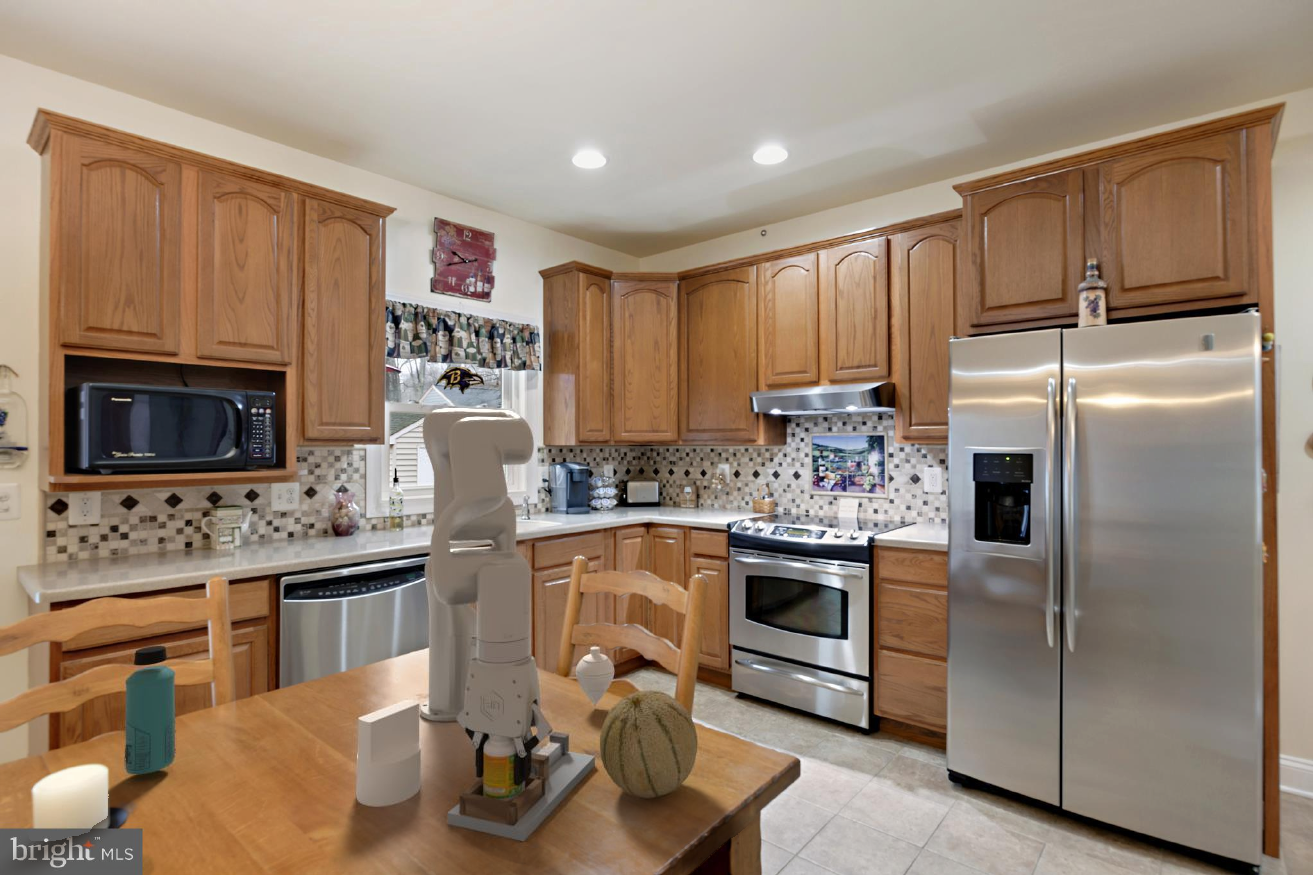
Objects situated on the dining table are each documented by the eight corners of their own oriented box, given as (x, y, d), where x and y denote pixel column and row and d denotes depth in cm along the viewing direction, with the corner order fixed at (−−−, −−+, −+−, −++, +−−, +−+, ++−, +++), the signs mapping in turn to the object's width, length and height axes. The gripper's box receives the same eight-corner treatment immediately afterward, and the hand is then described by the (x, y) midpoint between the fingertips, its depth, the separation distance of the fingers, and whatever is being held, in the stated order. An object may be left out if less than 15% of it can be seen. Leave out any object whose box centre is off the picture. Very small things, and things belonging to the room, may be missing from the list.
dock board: (530, 753, 111) (530, 724, 111) (594, 765, 107) (595, 734, 107) (447, 823, 90) (447, 787, 90) (523, 841, 86) (523, 803, 86)
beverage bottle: (185, 768, 106) (187, 643, 106) (141, 788, 99) (143, 655, 100) (157, 762, 108) (159, 639, 108) (112, 781, 101) (114, 651, 102)
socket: (494, 784, 98) (494, 767, 98) (545, 794, 95) (545, 776, 95) (459, 814, 90) (459, 795, 90) (513, 826, 87) (513, 807, 87)
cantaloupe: (711, 778, 102) (711, 682, 103) (675, 828, 89) (675, 716, 89) (626, 760, 108) (626, 669, 109) (581, 804, 95) (581, 699, 95)
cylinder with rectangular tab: (381, 813, 93) (382, 727, 93) (343, 795, 97) (344, 714, 98) (433, 785, 100) (433, 706, 101) (395, 770, 105) (396, 695, 105)
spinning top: (568, 712, 128) (568, 650, 128) (587, 698, 135) (587, 640, 135) (603, 718, 125) (603, 655, 125) (620, 704, 132) (620, 644, 133)
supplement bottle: (512, 806, 89) (513, 734, 89) (476, 801, 90) (476, 730, 90) (528, 786, 94) (528, 718, 95) (493, 782, 96) (494, 715, 96)
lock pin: (553, 748, 109) (553, 731, 109) (568, 751, 108) (568, 734, 108) (521, 777, 99) (521, 758, 99) (537, 780, 98) (537, 761, 98)
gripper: (436, 649, 92) (435, 779, 92) (544, 663, 86) (543, 801, 86) (468, 635, 99) (468, 755, 99) (570, 647, 93) (569, 775, 93)
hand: (503, 775), depth 92 cm, fingers closed on supplement bottle, 5 cm apart
